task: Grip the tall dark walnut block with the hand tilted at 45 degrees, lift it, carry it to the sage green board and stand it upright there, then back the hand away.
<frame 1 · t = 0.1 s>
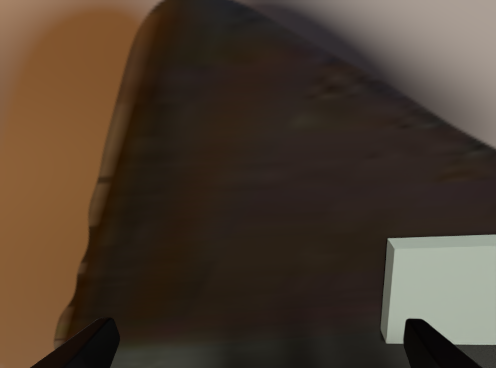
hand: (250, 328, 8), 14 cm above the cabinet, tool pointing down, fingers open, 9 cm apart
sage board: (444, 286, 24), on the cabinet
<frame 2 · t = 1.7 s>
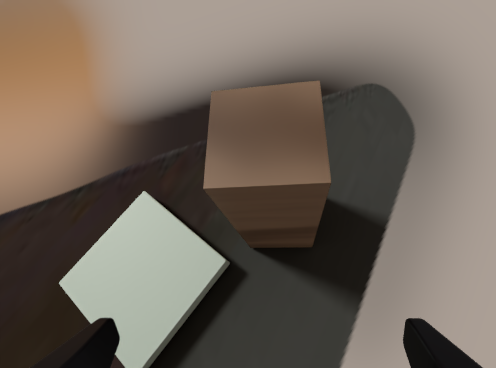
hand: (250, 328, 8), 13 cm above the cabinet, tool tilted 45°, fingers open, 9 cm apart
sage board: (148, 273, 23), on the cabinet
walnut block: (280, 217, 24), on the cabinet
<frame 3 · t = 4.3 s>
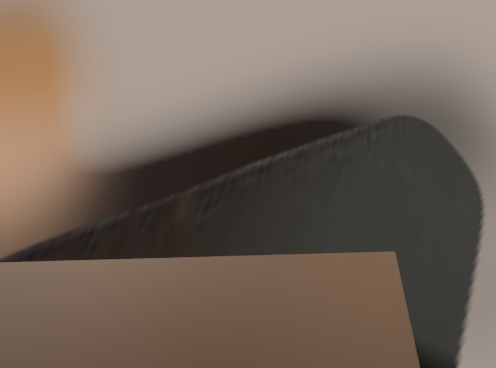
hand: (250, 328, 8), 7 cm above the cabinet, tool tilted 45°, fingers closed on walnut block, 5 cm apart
walnut block: (268, 351, 14), on the cabinet, touching gripper
when the fingers open (9 cm above the cabinet, at t = 8.1 s): walnut block stays where it is, resting on sage board.
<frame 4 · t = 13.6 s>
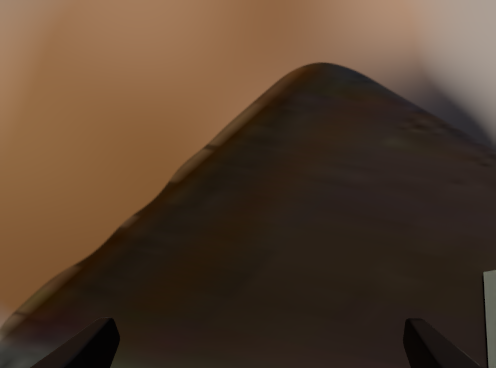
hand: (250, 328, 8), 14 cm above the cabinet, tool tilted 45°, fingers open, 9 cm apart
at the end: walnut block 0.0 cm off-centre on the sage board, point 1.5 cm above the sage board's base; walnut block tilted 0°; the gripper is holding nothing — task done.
